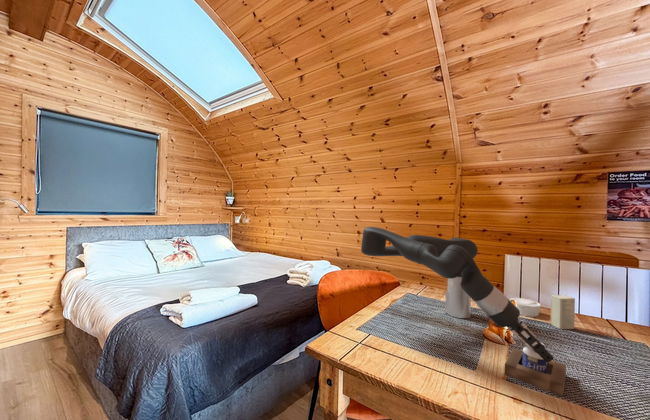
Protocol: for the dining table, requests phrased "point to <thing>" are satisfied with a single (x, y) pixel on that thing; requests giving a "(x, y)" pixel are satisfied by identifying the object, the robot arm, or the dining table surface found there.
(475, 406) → the dining table surface
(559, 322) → the skincare box
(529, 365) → the pill bottle
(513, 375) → the socket block
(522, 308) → the ramekin
